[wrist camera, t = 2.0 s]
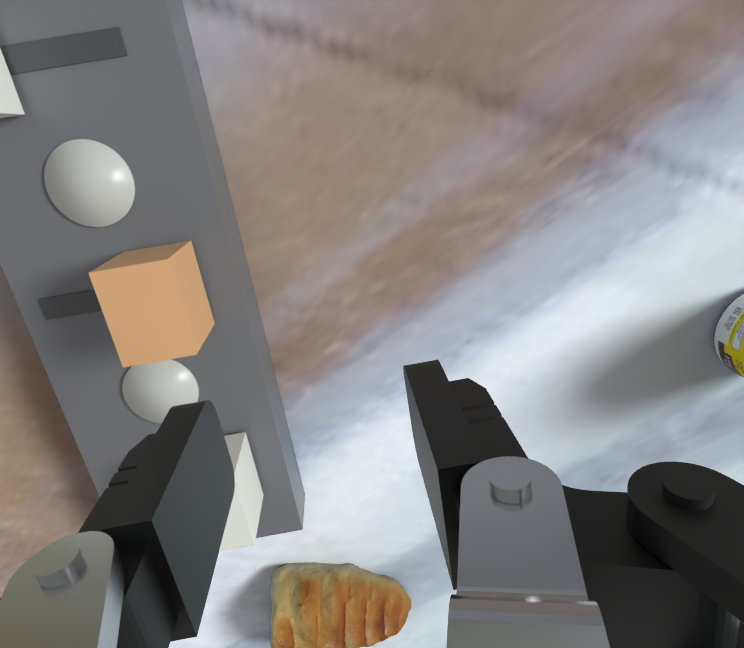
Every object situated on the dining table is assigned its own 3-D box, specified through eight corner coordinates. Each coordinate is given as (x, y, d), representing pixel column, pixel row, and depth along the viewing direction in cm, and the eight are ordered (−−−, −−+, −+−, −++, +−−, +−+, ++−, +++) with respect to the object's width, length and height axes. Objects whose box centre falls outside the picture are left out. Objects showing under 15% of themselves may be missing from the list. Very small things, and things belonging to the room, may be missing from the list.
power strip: (-229, -419, 18) (-344, -532, 15) (65, -462, 18) (12, -583, 15) (144, 523, 32) (125, 564, 29) (304, 494, 32) (302, 532, 29)
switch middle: (123, 251, 23) (88, 272, 20) (191, 240, 23) (167, 259, 20) (151, 334, 24) (122, 367, 21) (214, 323, 24) (196, 354, 21)
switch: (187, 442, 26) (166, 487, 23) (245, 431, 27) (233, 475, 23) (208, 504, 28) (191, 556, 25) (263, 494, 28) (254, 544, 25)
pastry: (410, 552, 35) (419, 600, 31) (404, 625, 37) (412, 679, 34) (268, 556, 34) (261, 606, 30) (271, 631, 36) (265, 686, 33)
